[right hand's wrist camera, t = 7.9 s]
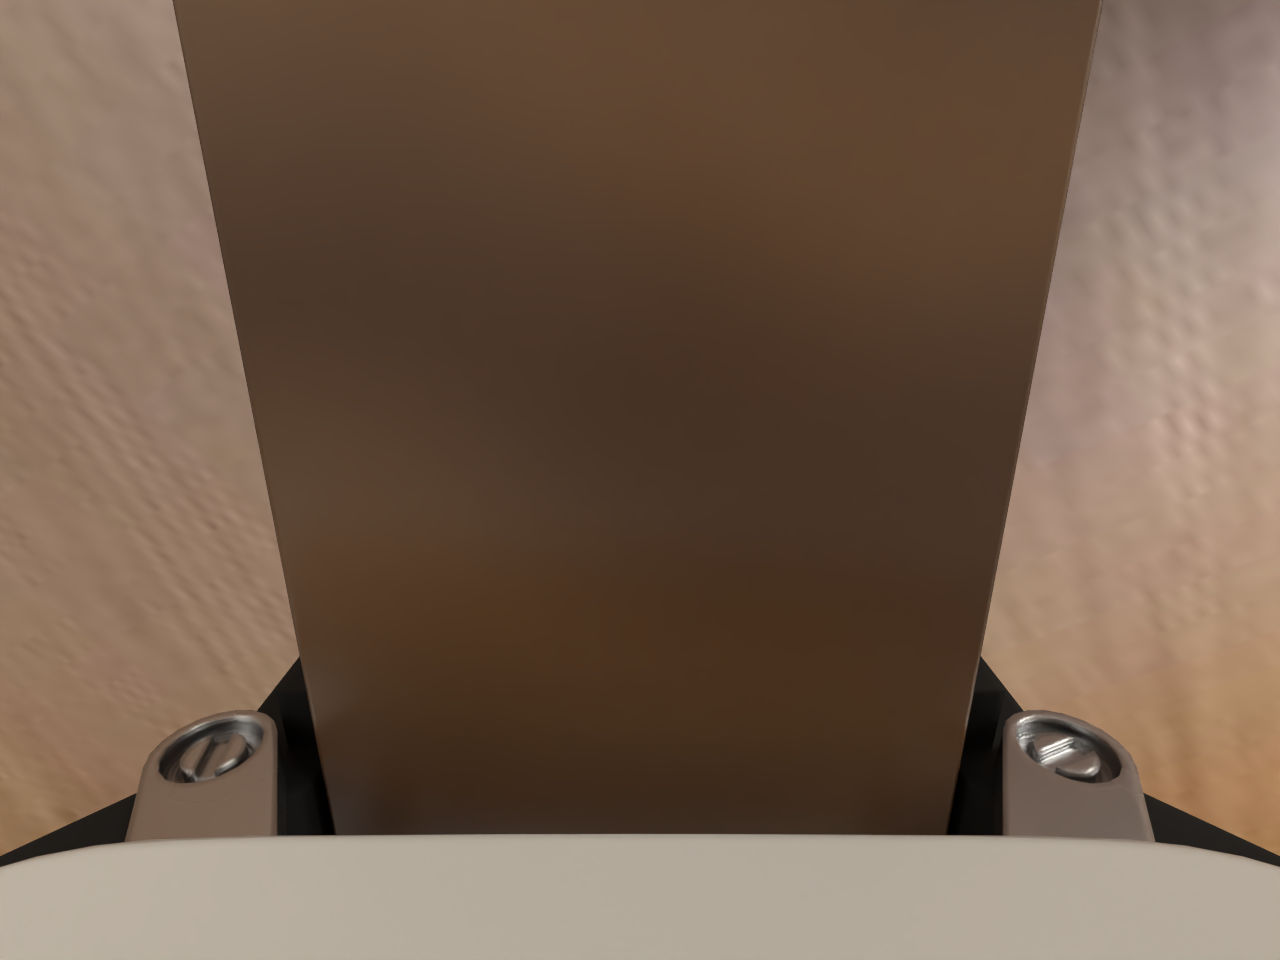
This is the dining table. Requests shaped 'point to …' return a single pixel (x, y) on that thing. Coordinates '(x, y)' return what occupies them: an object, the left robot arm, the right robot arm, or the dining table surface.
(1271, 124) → the dining table surface
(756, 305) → the beam
